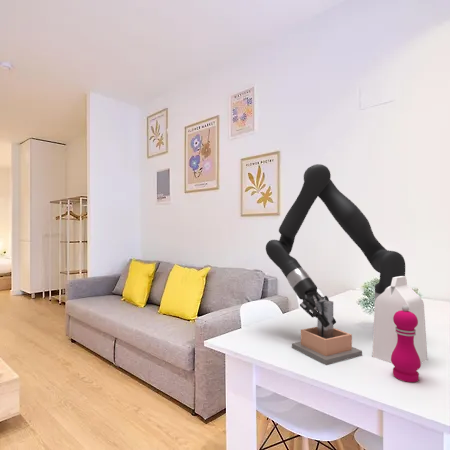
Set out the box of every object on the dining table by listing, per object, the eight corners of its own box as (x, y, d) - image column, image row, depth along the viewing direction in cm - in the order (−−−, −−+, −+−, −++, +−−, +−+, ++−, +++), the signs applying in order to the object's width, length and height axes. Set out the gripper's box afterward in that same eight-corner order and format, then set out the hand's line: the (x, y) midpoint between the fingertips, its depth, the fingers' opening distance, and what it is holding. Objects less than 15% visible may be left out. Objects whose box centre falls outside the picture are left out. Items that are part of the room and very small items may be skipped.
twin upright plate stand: (322, 339, 111) (322, 298, 111) (336, 343, 106) (336, 301, 106) (314, 341, 108) (314, 300, 108) (328, 346, 103) (328, 303, 104)
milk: (410, 369, 93) (409, 281, 94) (372, 356, 103) (372, 276, 103) (427, 359, 100) (427, 277, 101) (390, 348, 110) (390, 273, 110)
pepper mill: (394, 368, 94) (393, 301, 94) (422, 376, 89) (422, 304, 89) (388, 377, 88) (388, 305, 88) (418, 386, 83) (418, 309, 84)
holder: (325, 340, 118) (325, 322, 118) (362, 355, 104) (361, 335, 104) (291, 347, 110) (291, 328, 110) (326, 365, 96) (325, 343, 96)
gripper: (294, 278, 109) (325, 322, 99) (319, 275, 117) (349, 315, 108) (282, 291, 113) (311, 335, 103) (307, 287, 122) (336, 327, 112)
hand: (330, 324), depth 106 cm, fingers closed on twin upright plate stand, 3 cm apart
